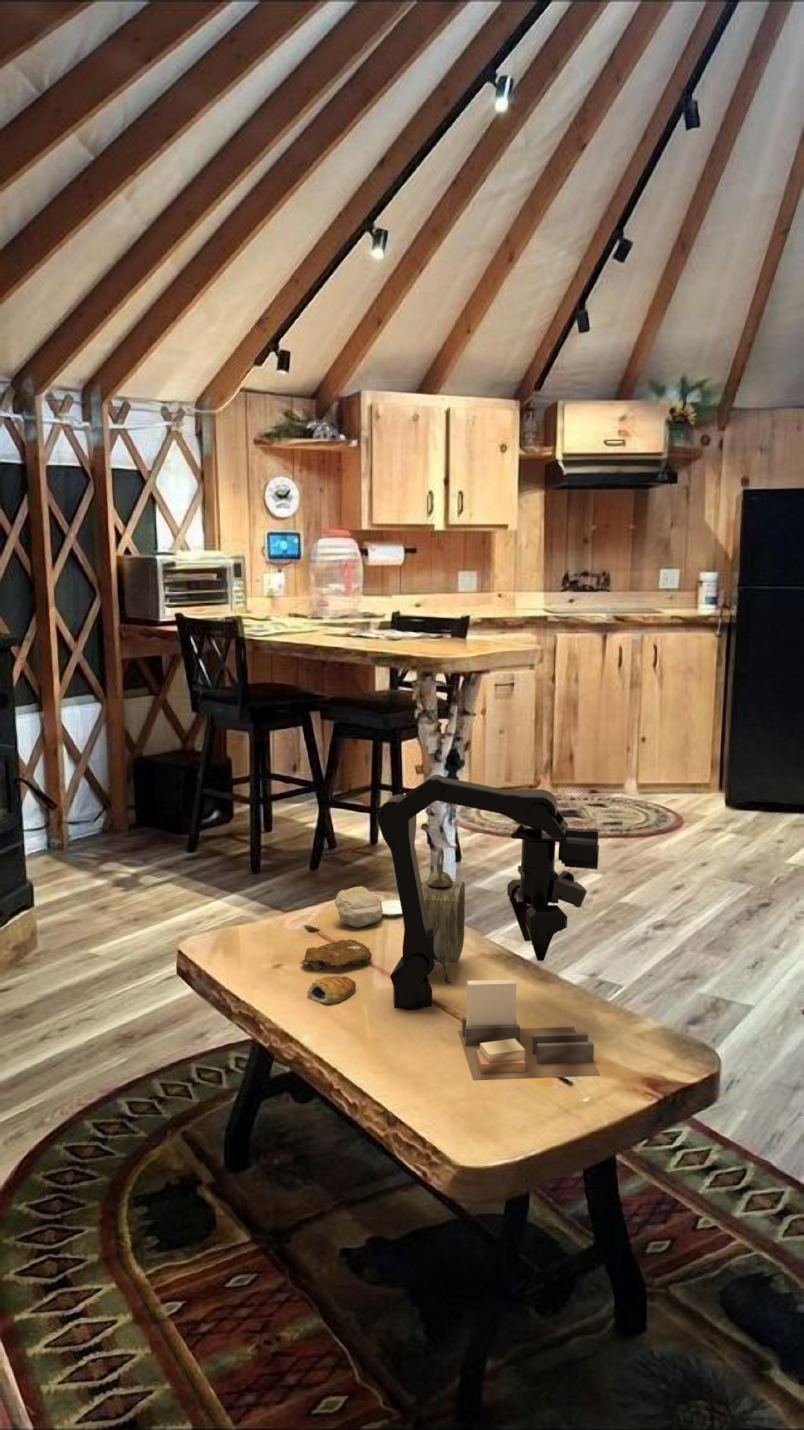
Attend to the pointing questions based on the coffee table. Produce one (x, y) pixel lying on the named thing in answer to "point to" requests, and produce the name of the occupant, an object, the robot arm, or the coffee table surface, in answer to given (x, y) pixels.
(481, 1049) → the birch offcut
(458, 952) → the tabletop clock
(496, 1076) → the walnut rack
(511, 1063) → the cedar offcut
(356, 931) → the coffee table surface
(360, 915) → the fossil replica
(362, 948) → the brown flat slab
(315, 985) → the pastry
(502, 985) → the off-white sheet
